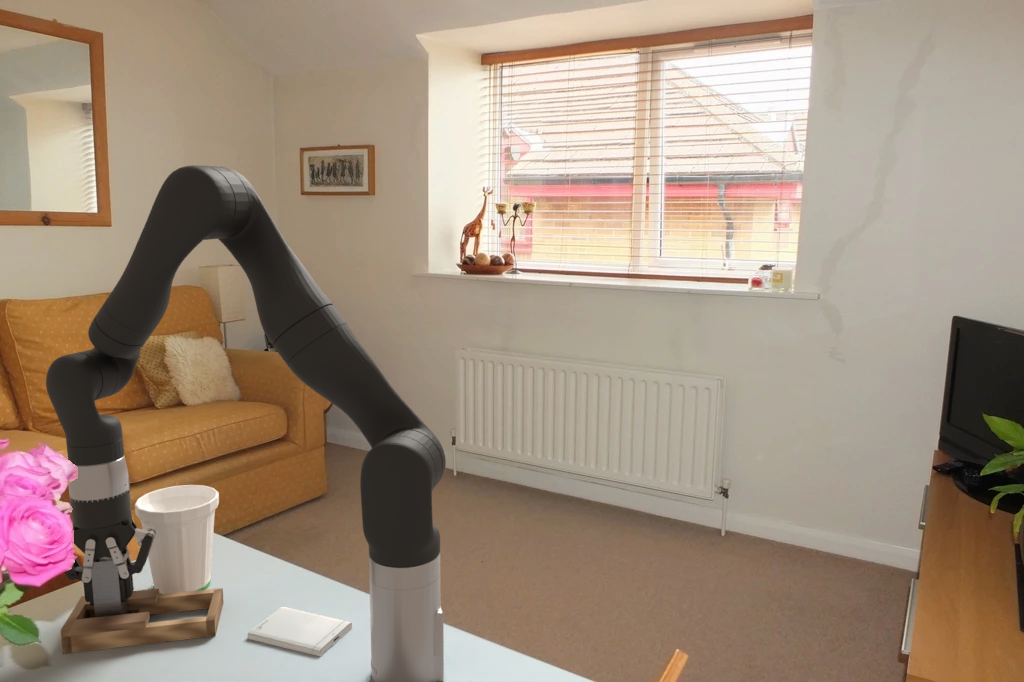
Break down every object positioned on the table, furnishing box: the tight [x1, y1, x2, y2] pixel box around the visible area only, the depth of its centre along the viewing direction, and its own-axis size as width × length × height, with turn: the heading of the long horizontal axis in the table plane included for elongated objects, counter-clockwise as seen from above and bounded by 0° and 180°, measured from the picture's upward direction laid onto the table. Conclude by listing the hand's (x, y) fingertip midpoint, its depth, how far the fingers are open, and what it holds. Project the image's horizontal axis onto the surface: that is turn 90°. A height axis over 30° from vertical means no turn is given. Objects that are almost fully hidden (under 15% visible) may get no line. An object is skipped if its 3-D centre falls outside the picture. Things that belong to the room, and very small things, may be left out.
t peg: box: [91, 557, 140, 618], centre depth 111 cm, size 6×6×11 cm
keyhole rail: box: [60, 587, 225, 654], centre depth 112 cm, size 20×10×4 cm, turn 104°
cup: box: [134, 484, 220, 594], centre depth 124 cm, size 12×12×15 cm
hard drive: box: [247, 606, 353, 657], centre depth 111 cm, size 2×8×12 cm
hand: (110, 600), depth 111 cm, fingers closed on t peg, 3 cm apart
